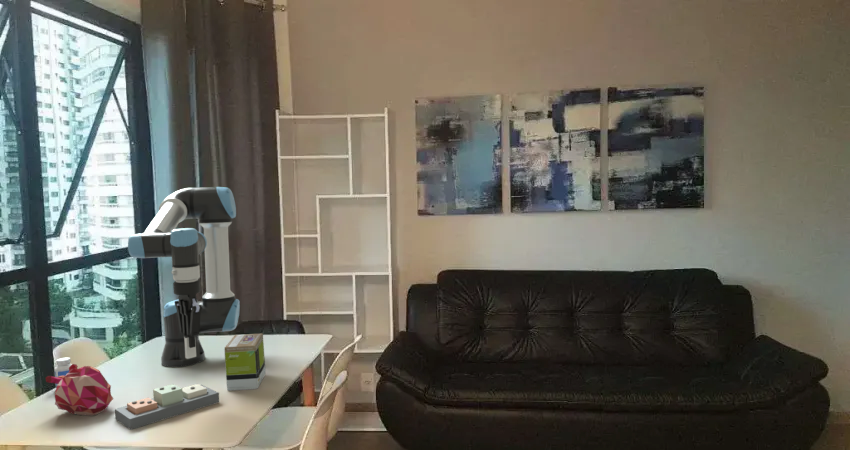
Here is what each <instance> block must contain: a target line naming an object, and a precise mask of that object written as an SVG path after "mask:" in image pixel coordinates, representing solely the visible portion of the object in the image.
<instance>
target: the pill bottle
mask: <svg viewBox="0 0 850 450" xmlns="http://www.w3.org/2000/svg"><path fill="white" fill-rule="evenodd" d="M55 362H56V363H55V364H56V366H55V367H54V377H58V376H63V375H64V376H65V375H66V374H67V373H68V372H69V367H70V366H71V365H72V362H71V357H70V356H69V357H66V356H65V357H61V358H57V359H56V360H55ZM57 385H58V384H55V388H56V387H57Z"/></svg>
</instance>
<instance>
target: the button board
mask: <svg viewBox="0 0 850 450" xmlns="http://www.w3.org/2000/svg"><path fill="white" fill-rule="evenodd" d="M200 385H201V386H203V387H205V388H207V394H204V395H201V396H197V397H194V398H190V399H185V398H183V401H180V402H177V403H173V404H170V405H167V406H163V407H161V406H159V405H157V408H156V409H153V410H150V411H146V412H143V413H139V414H136V415H134V414H132V413H131V412H129V411H128V410H127V405H124V406H123V405H122V406H121V407H117V408H114V415H115V416H114V417H115V418H114V419H115V420H116V421H117V422H119V423H120V424H121V425H123V426H125V427H126V428H128V429H129V430H134V429H138V428H141V427H145V426H147V425H151V424H154V423H157V422H160V421H163V420H167V419H170V418H173V417H176V416H180V415H183V414H186V413H188V412H192V411H195V410H199V409H202V408H206V407H208V406H213V405H215V404H218V403H220V392H219V391H216V390H214V389H212V388H210V387H208V386H205V385H204V384H200ZM151 399H152V400H154V397H151Z"/></svg>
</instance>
